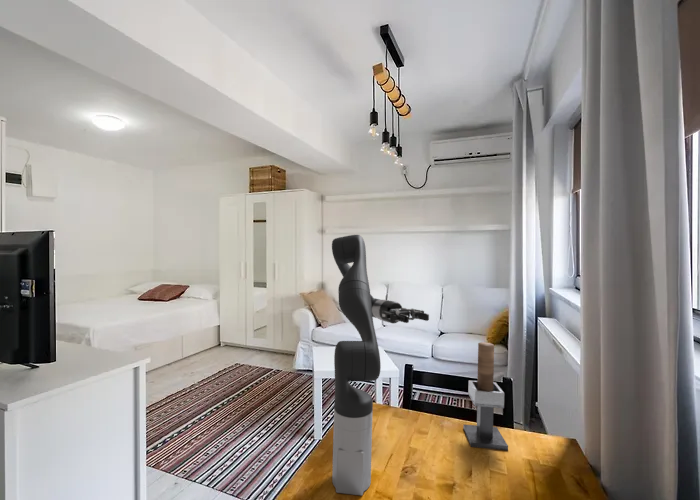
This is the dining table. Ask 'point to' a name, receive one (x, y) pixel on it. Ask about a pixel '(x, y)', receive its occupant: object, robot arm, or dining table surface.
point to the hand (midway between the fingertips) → (418, 318)
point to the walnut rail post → (485, 366)
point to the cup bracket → (485, 418)
